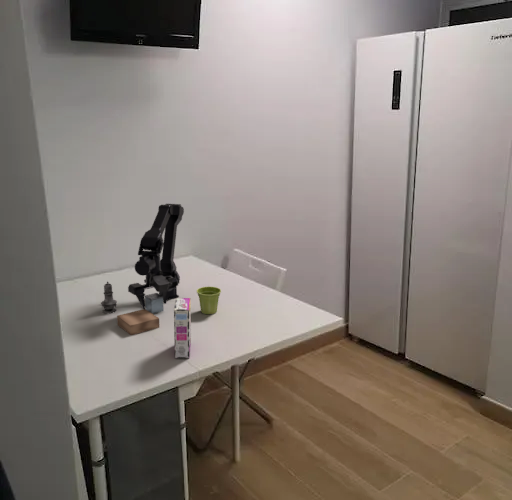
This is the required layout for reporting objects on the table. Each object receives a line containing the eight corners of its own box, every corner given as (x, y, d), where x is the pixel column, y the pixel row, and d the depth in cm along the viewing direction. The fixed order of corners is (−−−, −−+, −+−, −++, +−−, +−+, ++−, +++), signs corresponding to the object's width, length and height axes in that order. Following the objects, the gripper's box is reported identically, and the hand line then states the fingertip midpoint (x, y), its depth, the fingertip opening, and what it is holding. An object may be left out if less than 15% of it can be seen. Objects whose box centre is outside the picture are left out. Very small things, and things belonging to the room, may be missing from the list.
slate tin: (157, 307, 206) (156, 292, 204) (163, 311, 202) (163, 296, 201) (145, 310, 203) (144, 295, 201) (151, 314, 199) (151, 299, 197)
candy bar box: (190, 358, 164) (189, 309, 159) (174, 359, 163) (173, 310, 159) (191, 343, 175) (190, 297, 170) (176, 343, 174) (175, 297, 170)
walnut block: (145, 318, 195) (144, 308, 194) (159, 328, 187) (159, 318, 186) (117, 325, 189) (116, 315, 187) (131, 336, 180) (130, 325, 179)
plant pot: (225, 309, 204) (225, 288, 202) (213, 318, 196) (213, 296, 194) (204, 305, 208) (204, 285, 206) (192, 313, 200) (191, 292, 197)
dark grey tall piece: (113, 314, 198) (111, 284, 195) (98, 313, 199) (96, 283, 196) (120, 308, 203) (118, 279, 200) (106, 307, 205) (104, 278, 201)
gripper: (140, 277, 186) (142, 318, 190) (185, 268, 198) (186, 306, 202) (126, 270, 195) (128, 309, 199) (170, 261, 206) (171, 298, 210)
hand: (154, 306), depth 202 cm, fingers open, 9 cm apart
